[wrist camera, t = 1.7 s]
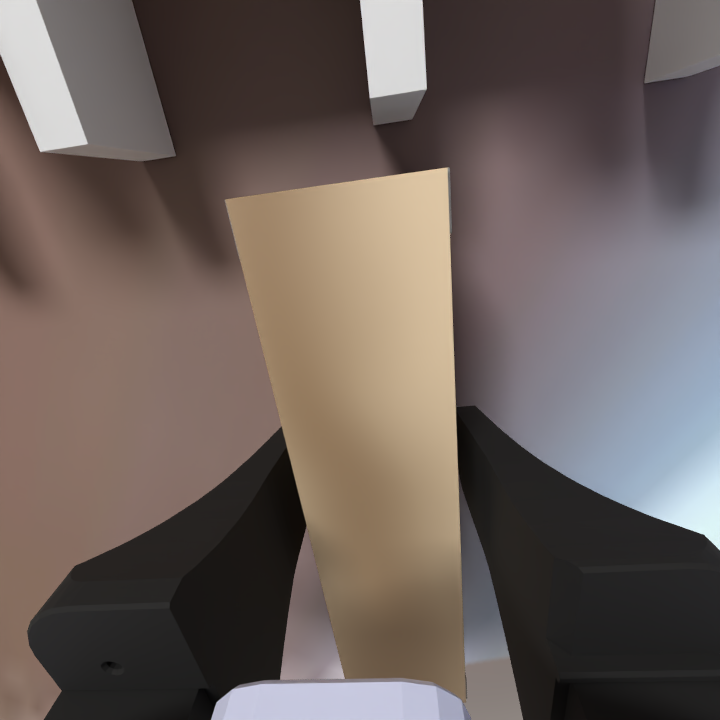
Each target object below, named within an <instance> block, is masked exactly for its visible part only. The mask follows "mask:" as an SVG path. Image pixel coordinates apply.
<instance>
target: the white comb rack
mask: <svg viewBox="0 0 720 720" xmlns="http://www.w3.org/2000/svg"><path fill="white" fill-rule="evenodd" d="M360 5H361V15H362V25H363V35H364V45H365V55H366V65H367V75H368V85H369V95H370V103H371V111H372V119H373V125H380V124H386V123H392V122H399V121H405V120H412V119H413V117H414V115H415V113H416V110H417V108H418V106H419V104H420V102H421V100H422V98H423V96H424V94H425V92H426V90H427V83H426V63H425V43H424V22H423V2H422V0H360ZM0 55H1V57H2V59H3V62H4V64H5V67H6V69H7V72H8V74H9V77H10V79H11V82H12V84H13V86H14V89H15V91H16V94H17V96H18V99H19V101H20V104H21V106H22V108H23V111H24V113H25V116H26V118H27V121H28V123H29V126H30V128H31V131H32V133H33V135H34V138H35V140H36V143H37V145H38V148H39V150H40V152H47V153H58V154H68V155H79V156H90V157H100V158H111V159H121V160H132V161H148V160H154V159H161V158H167V157H173V156H176V154H175V150H174V147H173V143H172V140H171V136H170V133H169V129H168V126H167V122H166V119H165V115H164V112H163V108H162V105H161V101H160V98H159V94H158V91H157V87H156V83H155V80H154V76H153V73H152V69H151V66H150V62H149V59H148V55H147V52H146V48H145V45H144V41H143V38H142V34H141V31H140V27H139V24H138V20H137V17H136V13H135V10H134V6H133V2H132V0H0ZM717 66H720V0H656V2H655V9H654V16H653V24H652V31H651V38H650V45H649V52H648V59H647V66H646V74H645V81H644V83H650V82H656V81H663V80H669V79H676V78H682V77H688V76H691V75H694V74H697V73H700V72H703V71H706V70H708V69H711V68H714V67H717Z"/></svg>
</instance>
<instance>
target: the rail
mask: <svg viewBox="0 0 720 720" xmlns="http://www.w3.org/2000/svg"><path fill="white" fill-rule="evenodd" d="M225 204H226V208H227V212H228V216H229V220H230V224H231V228H232V232H233V236H234V240H235V244H236V248H237V252H238V256H239V260H240V261H241V265H242V269H243V273H244V277H245V281H246V285H247V289H248V293H249V297H250V301H251V305H252V309H253V313H254V317H255V321H256V325H257V329H258V333H259V337H260V341H261V345H262V349H263V353H264V357H265V361H266V365H267V369H268V373H269V377H270V381H271V385H272V389H273V393H274V397H275V401H276V405H277V409H278V413H279V417H280V421H281V425H282V429H283V433H284V437H285V441H286V445H287V449H288V453H289V457H290V461H291V465H292V469H293V473H294V477H295V481H296V485H297V489H298V493H299V497H300V501H301V505H302V509H303V513H304V517H305V521H306V525H307V529H308V533H309V537H310V541H311V545H312V549H313V553H314V557H315V561H316V565H317V569H318V573H319V577H320V581H321V585H322V589H323V593H324V597H325V601H326V605H327V609H328V613H329V617H330V621H331V625H332V629H333V633H334V637H335V641H336V645H337V649H338V653H339V657H340V661H341V665H342V669H343V673H344V677H345V679H369V678H406V679H414V680H421V681H429V682H433V683H435V684H437V685H439V686H441V687H443V688H445V689H446V690H448V691H450V692H452V693H454V694H455V695H457V696H458V697H459V698H460V699H461V700H462V702H463V703H464V702H466V699H467V682H466V675H465V658H464V629H463V601H462V572H461V543H460V514H459V485H458V456H457V427H456V399H455V370H454V341H453V312H452V283H451V254H450V233H452V222H451V191H450V167H448V168H440V169H433V170H426V171H419V172H412V173H405V174H399V175H392V176H385V177H378V178H371V179H364V180H357V181H350V182H343V183H336V184H329V185H322V186H315V187H308V188H301V189H294V190H287V191H280V192H273V193H266V194H259V195H253V196H246V197H239V198H232V199H225Z"/></svg>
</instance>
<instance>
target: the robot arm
mask: <svg viewBox="0 0 720 720" xmlns="http://www.w3.org/2000/svg"><path fill="white" fill-rule="evenodd" d="M456 427H457V456H458V470H459V475H460V480H461V484H462V489H463V492H464V495H465V498H466V501H467V504H468V507H469V510H470V513H471V516H472V518H473V521H474V524H475V527H476V530H477V533H478V536H479V539H480V542H481V544H482V547H483V550H484V553H485V556H486V560H487V563H488V566H489V570H490V574H491V578H492V582H493V586H494V590H495V594H496V598H497V603H498V607H499V611H500V616H501V620H502V624H503V629H504V633H505V637H506V642H507V646H508V651H509V655H510V660H511V664H512V668H513V673H514V678H515V682H516V687H517V692H518V696H519V701H520V706H521V711H522V716H523V720H720V550H719V549H718V548H717V547H716V546H715V545H714V544H713V543H712V542H711V541H710V540H709V539H708V538H706V537H705V535H703V534H700V533H697V532H694V531H691V530H688V529H685V528H683V527H680V526H677V525H674V524H671V523H668V522H665V521H662V520H660V519H657V518H654V517H651V516H649V515H646V514H644V513H641V512H639V511H637V510H634V509H632V508H629V507H627V506H625V505H622V504H620V503H618V502H615V501H613V500H611V499H609V498H607V497H604V496H602V495H600V494H598V493H596V492H594V491H592V490H591V489H589V488H587V487H585V486H583V485H581V484H579V483H577V482H575V481H573V480H571V479H570V478H568V477H566V476H565V475H563V474H561V473H560V472H558V471H556V470H555V469H553V468H551V467H550V466H548V465H547V464H545V463H544V462H542V461H541V460H539V459H538V458H536V457H535V456H533V455H532V454H531V453H529V452H528V451H527V450H525V449H524V448H522V447H521V446H520V445H519V444H517V443H516V442H515V441H514V440H513V439H511V438H510V437H509V436H508V435H507V434H505V433H504V432H503V431H502V430H501V429H500V428H498V427H497V426H496V425H495V424H494V423H493V422H492V421H491V420H490V419H489V418H488V417H486V416H485V415H484V414H483V413H482V412H481V411H480V410H479V409H478V408H477V407H476V406H466V407H456ZM306 526H307V525H306V521H305V517H304V513H303V509H302V505H301V501H300V497H299V493H298V489H297V485H296V481H295V477H294V473H293V469H292V465H291V461H290V457H289V453H288V449H287V445H286V441H285V437H284V433H283V429H282V427H281V428H280V429H279V430H278V431H277V432H276V433H275V434H274V435H273V436H272V437H271V438H270V439H269V440H268V441H267V442H266V443H265V444H264V445H263V446H262V447H261V448H260V449H259V450H258V451H257V452H255V453H254V454H253V455H252V456H251V457H250V458H249V459H248V460H247V461H246V462H245V463H244V464H242V465H241V466H240V467H239V468H238V469H237V470H236V471H235V472H233V473H232V474H231V475H230V476H229V477H228V478H227V479H225V480H224V481H223V482H222V483H220V484H219V485H218V486H217V487H215V488H214V489H213V490H211V491H210V492H209V493H207V494H206V495H205V496H203V497H202V498H200V499H199V500H198V501H196V502H195V503H193V504H191V505H190V506H188V507H187V508H185V509H184V510H182V511H181V512H179V513H177V514H176V515H174V516H173V517H171V518H170V519H168V520H166V521H165V522H163V523H161V524H160V525H158V526H156V527H154V528H153V529H151V530H149V531H147V532H145V533H143V534H142V535H140V536H138V537H136V538H134V539H132V540H130V541H128V542H126V543H124V544H122V545H120V546H118V547H116V548H114V549H112V550H109V551H107V552H105V553H103V554H101V555H99V556H96V557H94V558H92V559H90V560H88V561H86V562H83V563H81V564H79V565H76V566H75V567H74V568H73V569H72V570H71V572H70V573H69V574H68V575H67V577H66V578H65V579H64V580H63V582H62V583H61V584H60V585H59V587H58V588H57V589H56V590H55V592H54V593H53V594H52V595H51V597H50V598H49V599H48V600H47V602H46V603H45V604H44V605H43V607H42V608H41V609H40V610H39V612H38V613H37V614H36V615H35V617H34V618H33V619H32V620H31V622H30V625H29V628H28V630H27V633H28V639H29V646H30V648H31V649H32V651H33V653H34V655H35V656H36V658H37V659H38V660H39V662H40V663H41V664H42V666H43V667H44V668H45V669H46V671H47V672H48V673H49V675H50V676H51V677H52V678H53V680H54V681H55V682H56V684H57V685H58V686H59V688H60V689H61V690H62V692H61V693H60V695H59V696H58V698H57V700H56V701H55V703H54V704H53V706H52V708H51V709H50V711H49V712H48V714H47V715H46V717H45V719H44V720H471V717H470V715H469V713H468V711H467V709H466V708H465V706H464V704H463V702H462V700H461V699H460V698H459V697H458V696H457V695H455V694H454V693H452V692H450V691H448V690H446V689H445V688H443V687H441V686H439V685H437V684H435V683H433V682H429V681H421V680H414V679H406V678H369V679H310V680H280V674H281V665H282V657H283V648H284V641H285V633H286V626H287V618H288V611H289V605H290V598H291V592H292V585H293V579H294V574H295V569H296V564H297V560H298V556H299V553H300V549H301V545H302V541H303V537H304V533H305V529H306Z"/></svg>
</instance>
